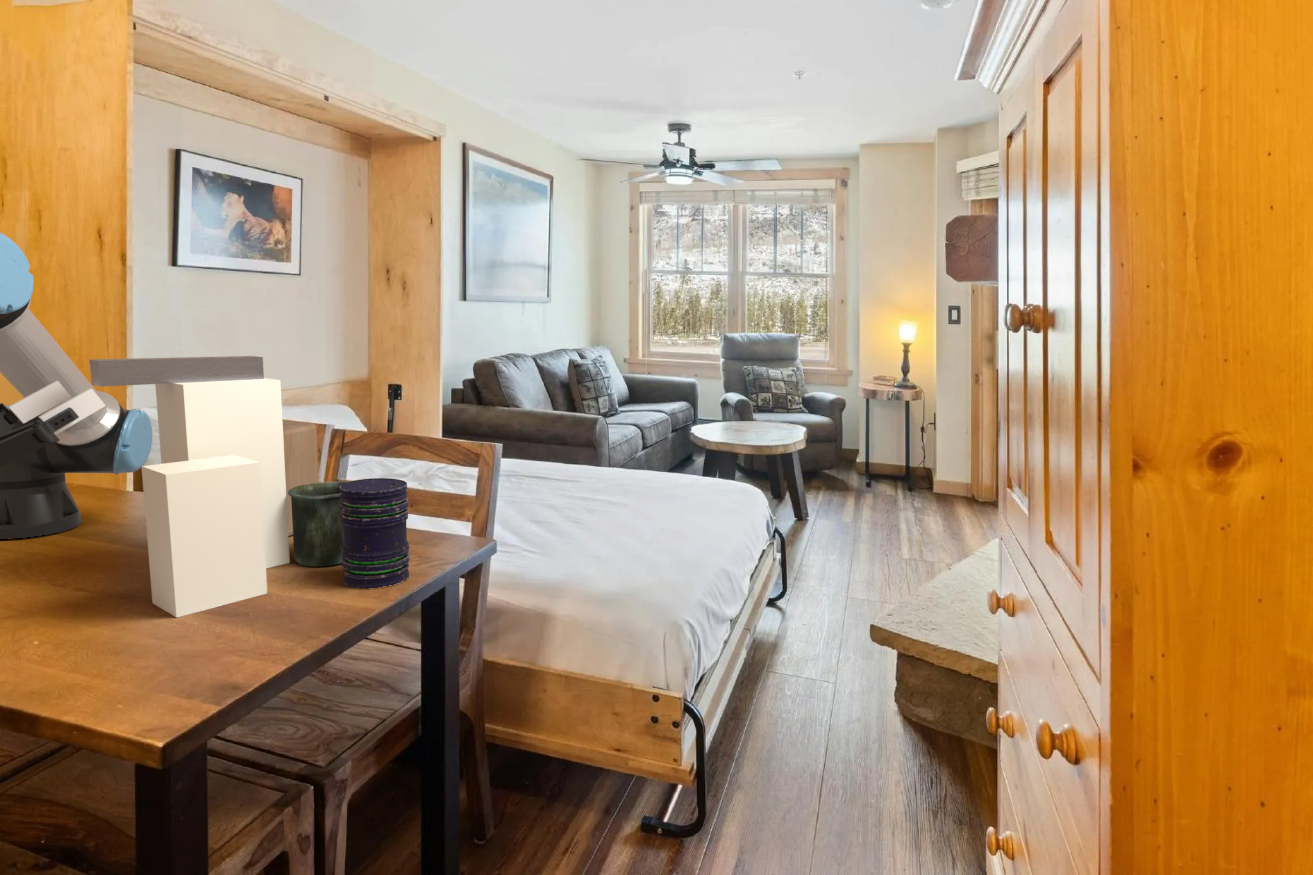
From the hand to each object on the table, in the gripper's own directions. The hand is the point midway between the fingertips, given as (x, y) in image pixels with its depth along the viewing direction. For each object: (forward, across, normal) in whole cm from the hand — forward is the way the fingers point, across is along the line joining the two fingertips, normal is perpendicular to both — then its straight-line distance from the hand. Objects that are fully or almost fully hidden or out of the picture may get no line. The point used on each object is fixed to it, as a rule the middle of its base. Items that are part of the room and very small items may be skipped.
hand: (80, 392), depth 103 cm
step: (-6, +12, -30) cm, 33 cm away
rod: (+12, -1, -6) cm, 13 cm away
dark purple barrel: (+11, +21, -41) cm, 47 cm away
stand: (+1, 0, -34) cm, 34 cm away
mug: (+13, +6, -42) cm, 44 cm away
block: (+14, -16, -42) cm, 48 cm away
